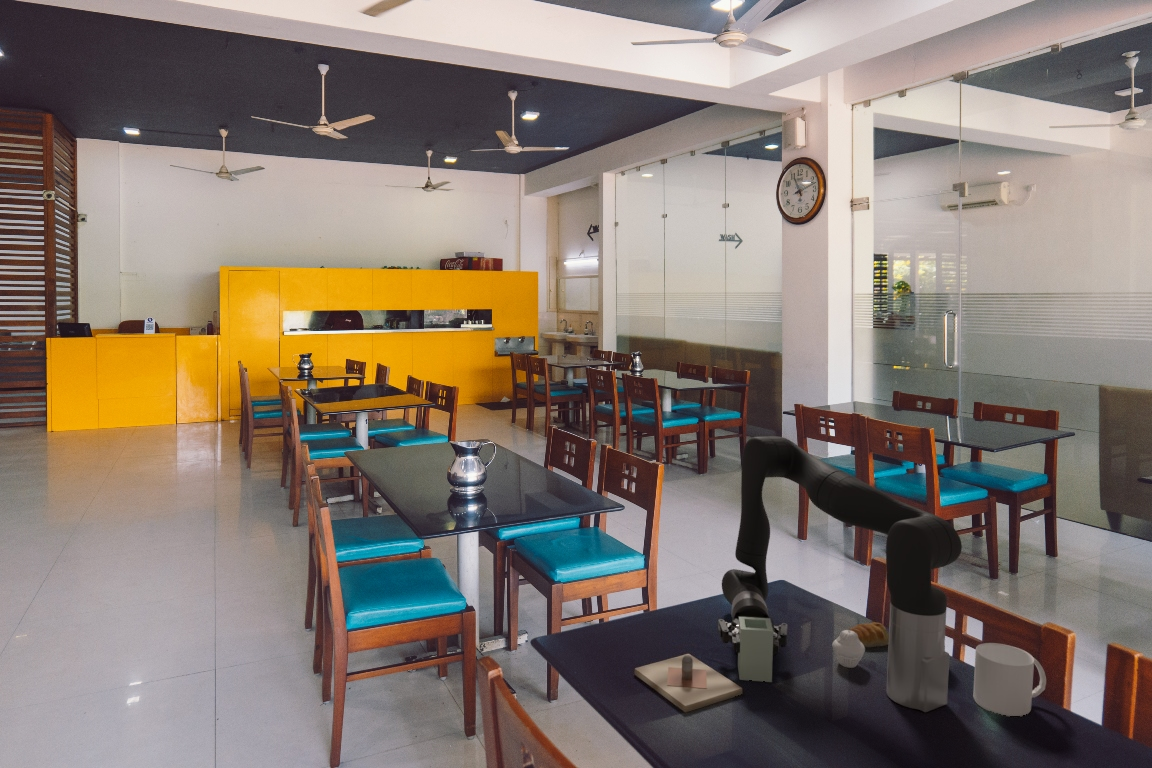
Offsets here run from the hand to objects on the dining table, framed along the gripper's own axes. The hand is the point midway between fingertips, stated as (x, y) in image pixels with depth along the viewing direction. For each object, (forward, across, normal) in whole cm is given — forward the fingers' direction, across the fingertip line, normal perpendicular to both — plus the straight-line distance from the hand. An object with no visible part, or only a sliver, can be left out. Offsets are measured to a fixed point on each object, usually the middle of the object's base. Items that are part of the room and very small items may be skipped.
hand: (756, 649), depth 144 cm
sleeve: (-2, 0, +6) cm, 6 cm away
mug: (+2, +44, +6) cm, 45 cm away
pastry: (-21, +25, +6) cm, 33 cm away
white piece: (-9, +19, +6) cm, 22 cm away
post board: (+4, -13, +6) cm, 15 cm away
